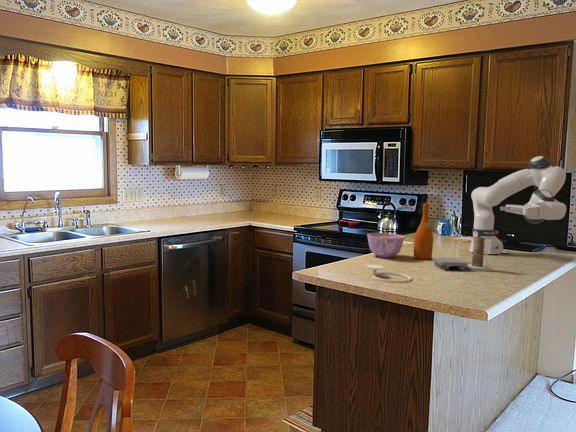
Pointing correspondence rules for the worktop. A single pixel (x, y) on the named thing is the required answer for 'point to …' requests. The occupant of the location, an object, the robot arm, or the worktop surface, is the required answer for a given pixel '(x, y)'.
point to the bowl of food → (385, 244)
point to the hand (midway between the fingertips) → (505, 209)
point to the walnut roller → (478, 251)
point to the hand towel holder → (378, 267)
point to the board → (478, 268)
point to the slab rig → (450, 263)
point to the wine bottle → (423, 237)
